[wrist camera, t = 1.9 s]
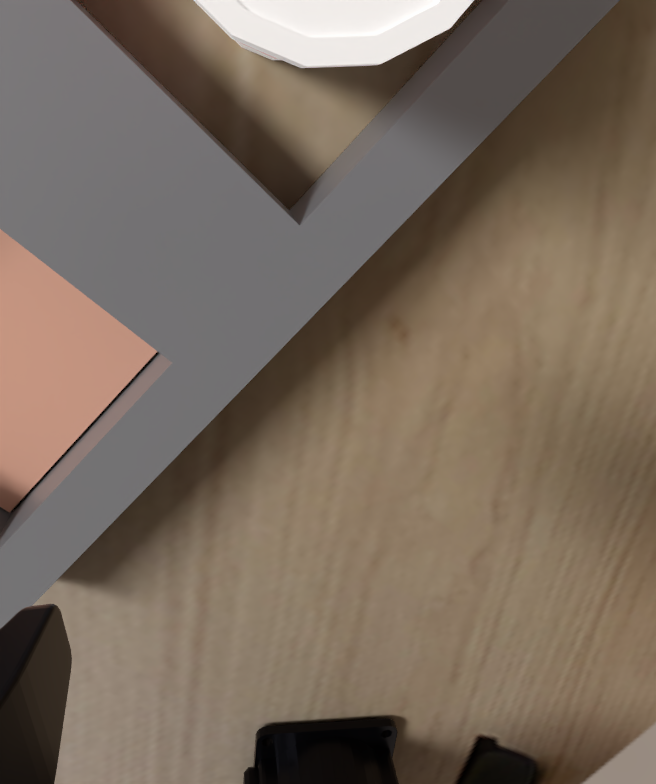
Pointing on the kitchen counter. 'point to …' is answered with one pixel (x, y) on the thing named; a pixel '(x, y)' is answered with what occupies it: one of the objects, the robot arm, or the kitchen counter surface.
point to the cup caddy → (186, 251)
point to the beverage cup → (333, 28)
